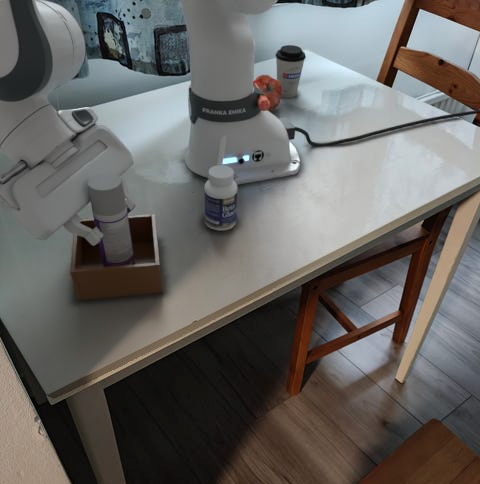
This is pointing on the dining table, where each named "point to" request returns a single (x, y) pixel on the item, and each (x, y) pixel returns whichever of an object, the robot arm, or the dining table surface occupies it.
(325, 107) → the dining table surface
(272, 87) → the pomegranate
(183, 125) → the dining table surface
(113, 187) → the container
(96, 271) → the wooden tray
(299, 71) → the coffee cup
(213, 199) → the pill bottle
